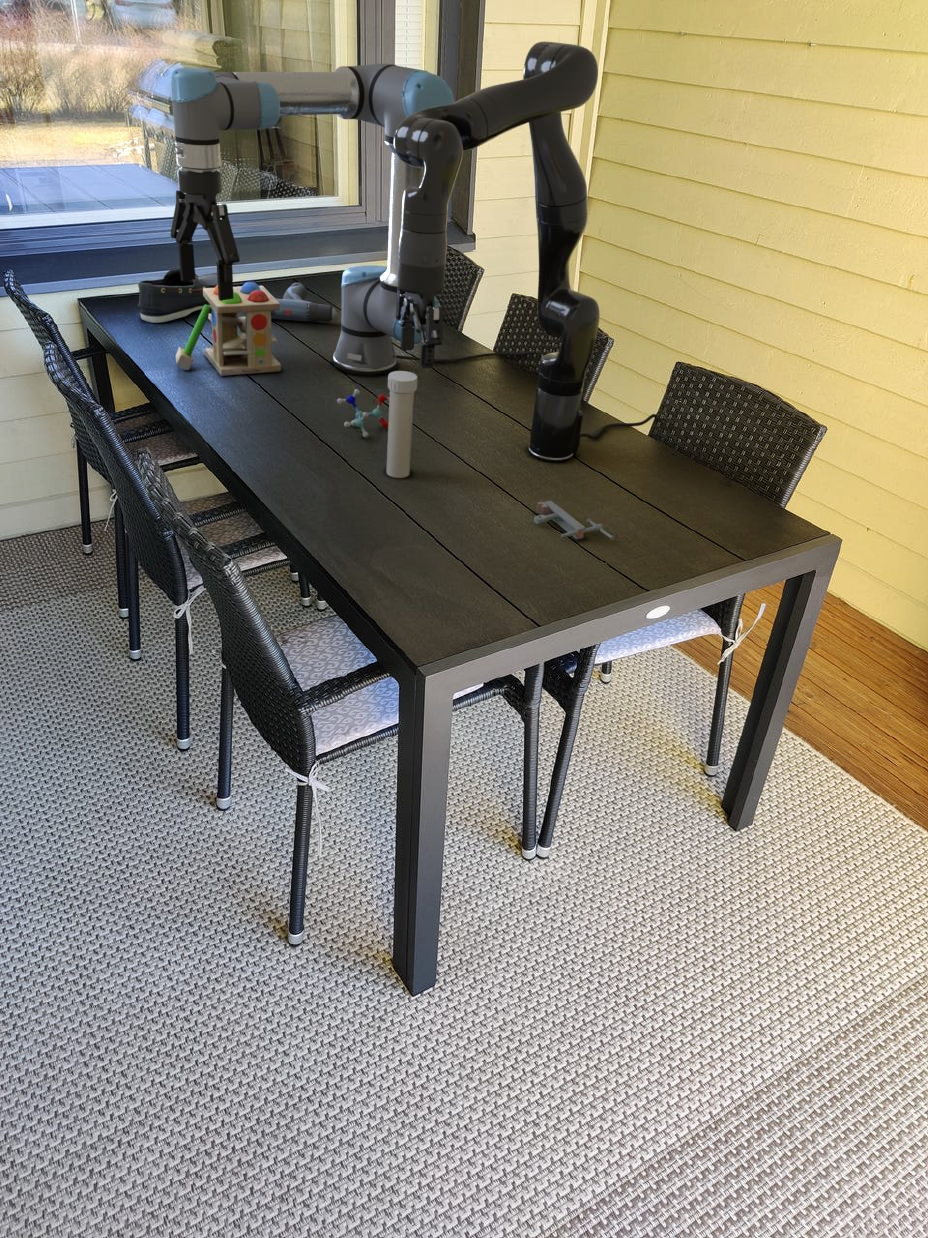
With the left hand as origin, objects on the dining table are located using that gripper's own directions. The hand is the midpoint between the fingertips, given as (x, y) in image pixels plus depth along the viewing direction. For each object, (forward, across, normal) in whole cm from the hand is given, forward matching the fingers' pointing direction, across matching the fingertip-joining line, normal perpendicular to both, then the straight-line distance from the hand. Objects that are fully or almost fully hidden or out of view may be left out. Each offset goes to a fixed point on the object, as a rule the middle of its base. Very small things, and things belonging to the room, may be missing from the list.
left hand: (206, 289), depth 186 cm
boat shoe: (+28, -71, +34) cm, 84 cm away
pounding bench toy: (+28, -29, +20) cm, 45 cm away
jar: (+28, +37, +18) cm, 50 cm away
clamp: (+28, +72, +29) cm, 82 cm away
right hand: (0, +49, +10) cm, 50 cm away
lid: (+9, +37, +18) cm, 42 cm away
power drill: (+28, -53, +60) cm, 84 cm away
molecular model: (+28, +17, +25) cm, 41 cm away
